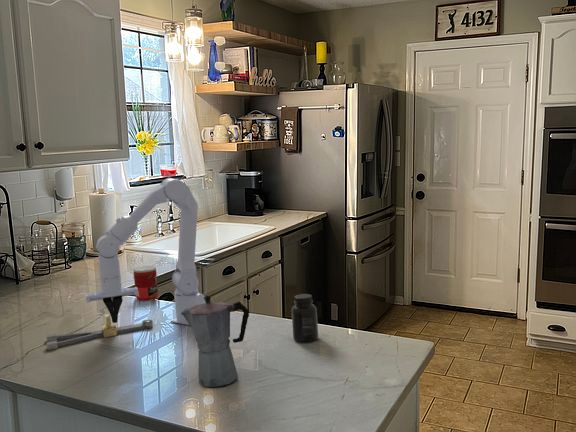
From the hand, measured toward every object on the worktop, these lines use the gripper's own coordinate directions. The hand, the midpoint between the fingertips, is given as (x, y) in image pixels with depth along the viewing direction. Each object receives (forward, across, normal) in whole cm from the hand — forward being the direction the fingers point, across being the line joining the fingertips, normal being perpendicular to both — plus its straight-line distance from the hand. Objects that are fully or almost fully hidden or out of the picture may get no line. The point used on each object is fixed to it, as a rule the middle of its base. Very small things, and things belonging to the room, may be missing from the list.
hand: (114, 321), depth 168 cm
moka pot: (+4, -18, +48) cm, 51 cm away
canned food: (+4, -15, -34) cm, 38 cm away
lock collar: (+3, +2, 0) cm, 4 cm away
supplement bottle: (+4, -46, +34) cm, 57 cm away
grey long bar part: (+3, +4, 0) cm, 5 cm away
